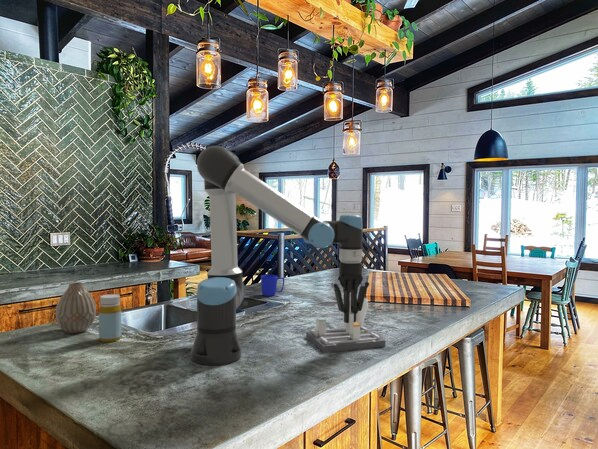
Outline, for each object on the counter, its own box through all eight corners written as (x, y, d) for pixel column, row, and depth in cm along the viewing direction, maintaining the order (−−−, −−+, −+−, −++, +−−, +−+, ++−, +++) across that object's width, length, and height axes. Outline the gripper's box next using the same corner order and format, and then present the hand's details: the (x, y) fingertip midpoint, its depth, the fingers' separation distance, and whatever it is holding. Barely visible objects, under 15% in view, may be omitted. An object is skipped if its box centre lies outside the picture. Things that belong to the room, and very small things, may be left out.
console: (323, 352, 141) (324, 343, 141) (305, 336, 157) (306, 328, 157) (385, 346, 147) (385, 337, 147) (362, 331, 164) (362, 323, 164)
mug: (283, 297, 223) (284, 277, 223) (259, 296, 223) (260, 277, 223) (284, 293, 231) (284, 274, 231) (261, 293, 231) (261, 274, 231)
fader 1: (319, 334, 153) (319, 320, 152) (316, 331, 155) (316, 317, 155) (325, 333, 153) (325, 319, 153) (322, 331, 156) (322, 317, 156)
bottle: (116, 335, 157) (116, 293, 156) (124, 339, 152) (124, 296, 151) (96, 339, 152) (95, 295, 151) (104, 344, 147) (103, 299, 146)
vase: (50, 330, 161) (49, 282, 160) (87, 323, 170) (87, 278, 170) (63, 338, 152) (63, 288, 151) (102, 330, 162) (101, 283, 161)
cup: (362, 335, 161) (366, 303, 159) (337, 330, 163) (342, 298, 162) (365, 328, 169) (370, 297, 168) (342, 323, 172) (346, 293, 170)
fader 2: (353, 340, 147) (353, 325, 147) (349, 337, 150) (349, 322, 149) (360, 339, 147) (360, 324, 147) (356, 336, 150) (356, 322, 150)
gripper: (336, 263, 141) (335, 337, 142) (373, 262, 145) (372, 333, 146) (328, 260, 148) (327, 330, 149) (363, 259, 152) (362, 327, 153)
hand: (349, 332), depth 148 cm, fingers closed
